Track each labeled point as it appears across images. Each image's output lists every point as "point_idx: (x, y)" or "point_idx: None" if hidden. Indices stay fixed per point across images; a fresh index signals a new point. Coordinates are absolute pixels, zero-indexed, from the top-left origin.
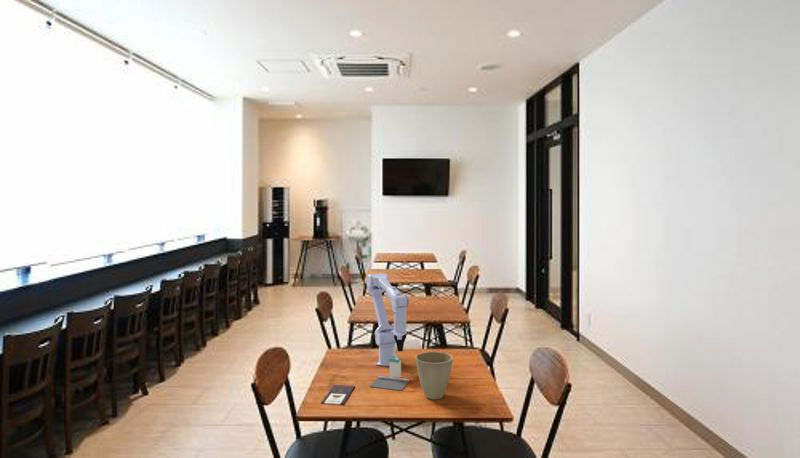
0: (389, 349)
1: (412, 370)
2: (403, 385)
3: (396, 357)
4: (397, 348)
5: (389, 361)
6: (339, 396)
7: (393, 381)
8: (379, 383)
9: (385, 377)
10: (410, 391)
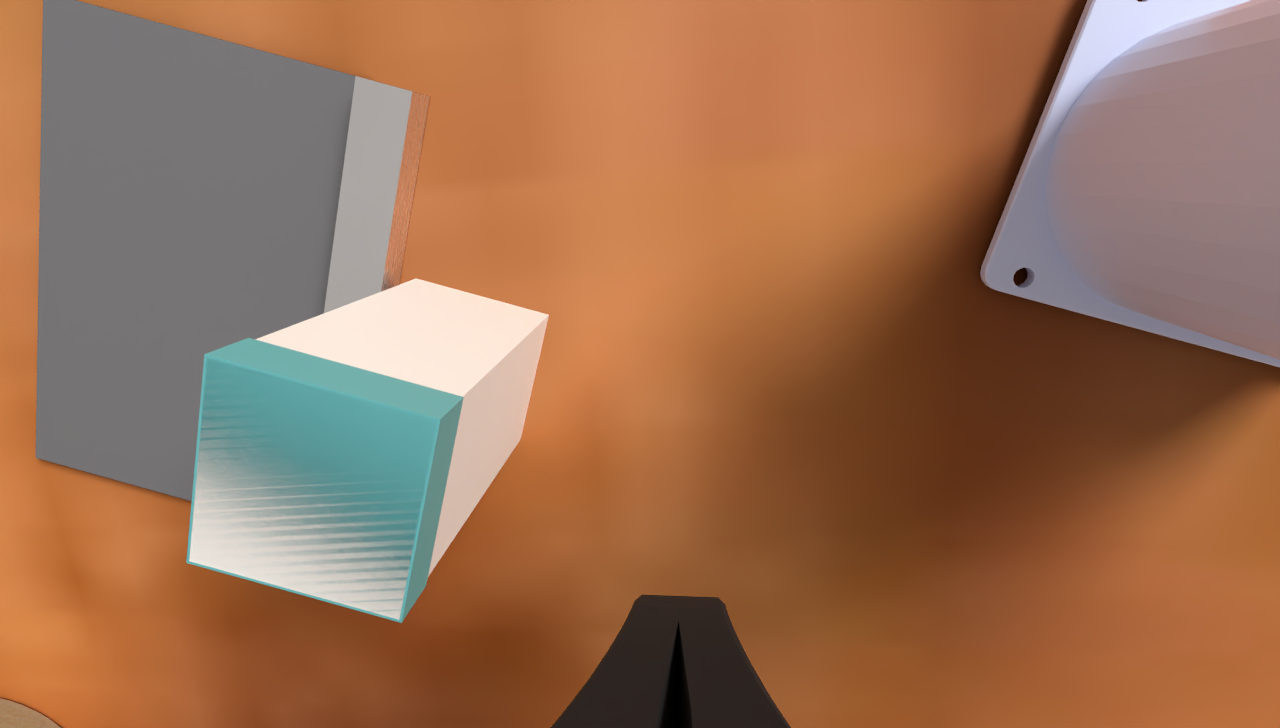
0: (1276, 286)
1: (796, 595)
2: (188, 480)
3: (362, 521)
4: (615, 639)
5: (243, 341)
6: None
7: None
8: (182, 138)
9: (341, 222)
10: (59, 554)
